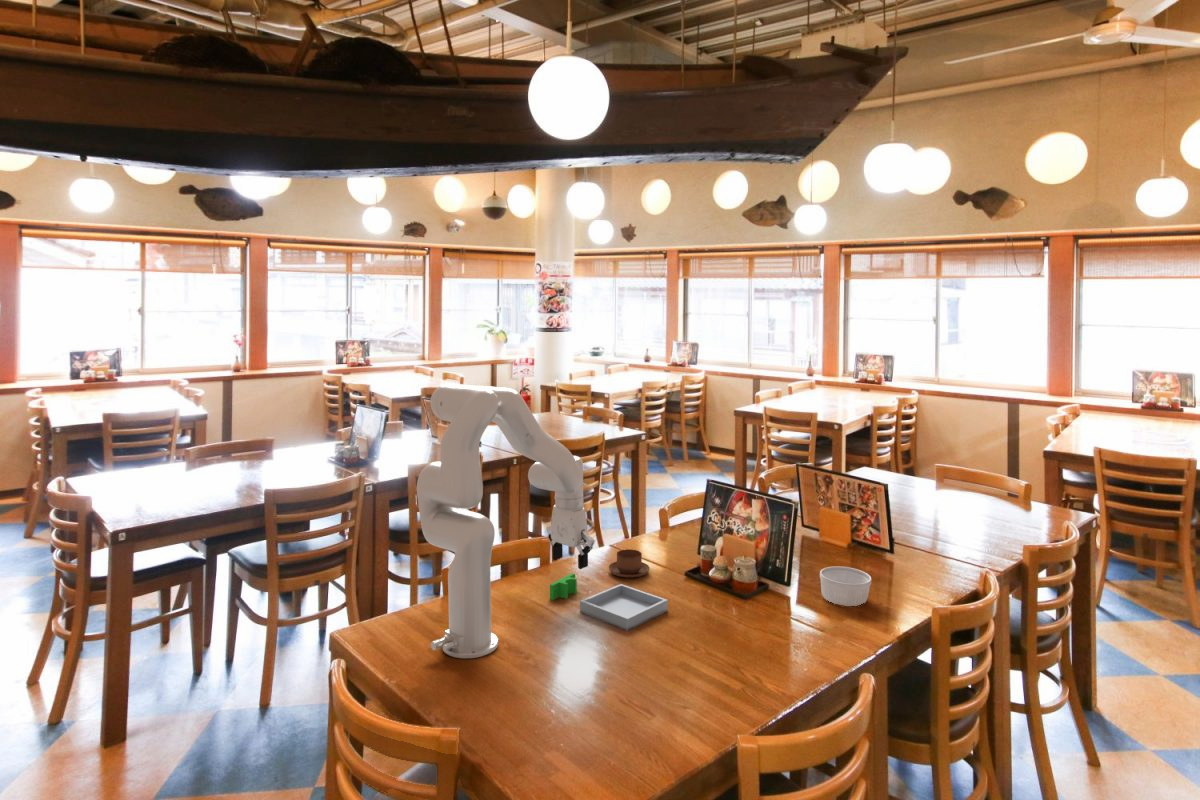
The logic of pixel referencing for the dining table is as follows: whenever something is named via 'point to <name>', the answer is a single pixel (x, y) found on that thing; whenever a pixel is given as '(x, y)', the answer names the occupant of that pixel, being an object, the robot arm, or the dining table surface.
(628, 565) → the cup and saucer
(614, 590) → the tray
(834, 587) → the ramekin
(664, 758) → the dining table surface
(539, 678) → the dining table surface
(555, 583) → the green branched block
